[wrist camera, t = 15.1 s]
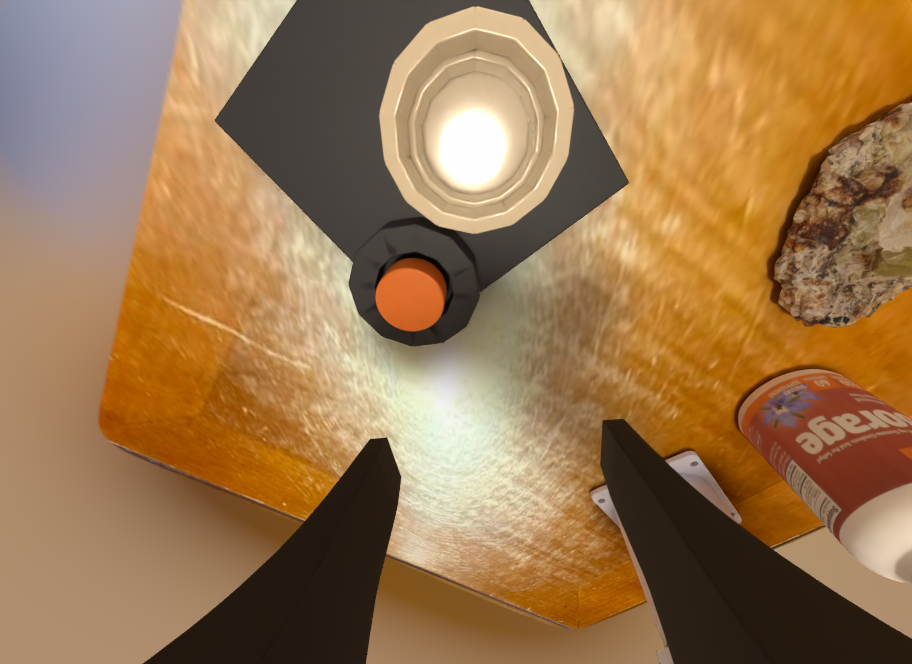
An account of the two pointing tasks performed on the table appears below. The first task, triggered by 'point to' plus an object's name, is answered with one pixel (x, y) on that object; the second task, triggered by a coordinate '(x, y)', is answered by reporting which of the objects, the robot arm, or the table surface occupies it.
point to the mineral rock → (853, 228)
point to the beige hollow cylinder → (476, 120)
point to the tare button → (411, 294)
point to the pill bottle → (840, 461)
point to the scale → (362, 162)
